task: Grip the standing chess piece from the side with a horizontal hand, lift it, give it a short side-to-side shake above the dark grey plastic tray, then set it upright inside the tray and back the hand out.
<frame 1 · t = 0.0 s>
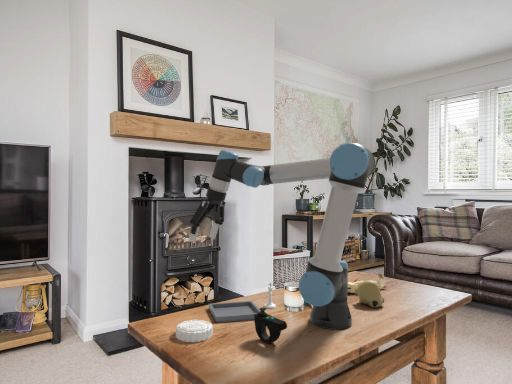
hand: (202, 239, 145), 28 cm above the table, tool tilted 20°, fingers open, 13 cm apart
chess piece: (269, 307, 151), on the table
controller: (269, 343, 115), on the table
tray: (235, 313, 142), on the table
mooncake: (194, 336, 120), on the table
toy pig: (369, 305, 157), on the table
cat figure: (363, 291, 179), on the table
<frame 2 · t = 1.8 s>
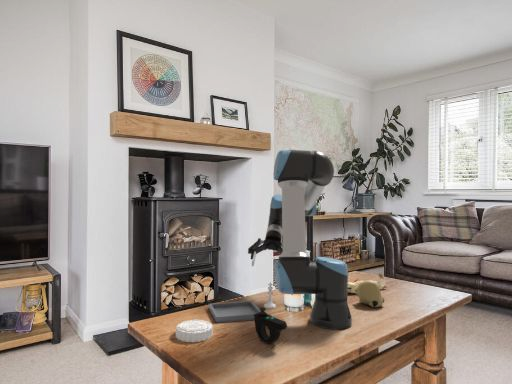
hand: (268, 266, 155), 16 cm above the table, tool tilted 60°, fingers open, 13 cm apart
nothing on the table moved.
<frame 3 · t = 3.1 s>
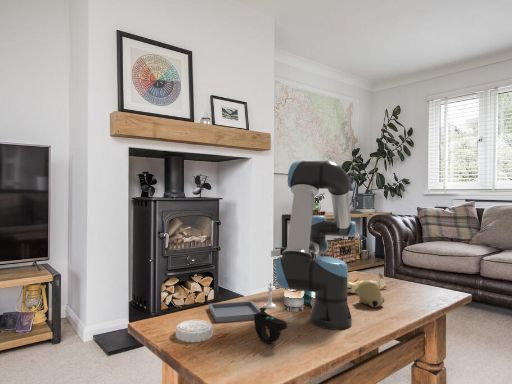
hand: (284, 255, 160), 20 cm above the table, tool horizontal, fingers open, 13 cm apart
nothing on the table moved.
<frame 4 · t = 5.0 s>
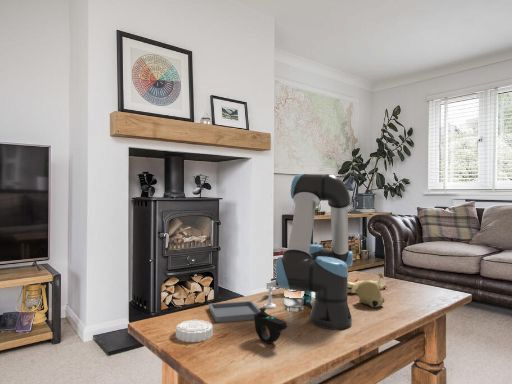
hand: (280, 288, 158), 6 cm above the table, tool horizontal, fingers open, 13 cm apart
nothing on the table moved.
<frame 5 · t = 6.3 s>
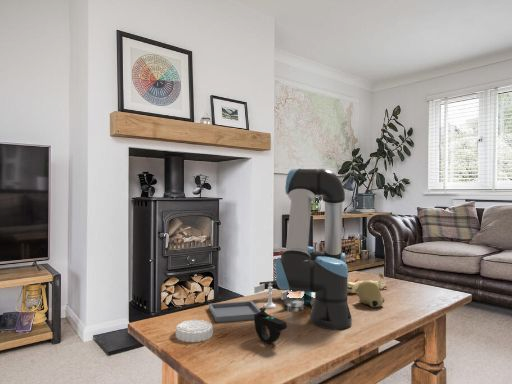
hand: (268, 292, 150), 6 cm above the table, tool horizontal, fingers open, 13 cm apart
nothing on the table moved.
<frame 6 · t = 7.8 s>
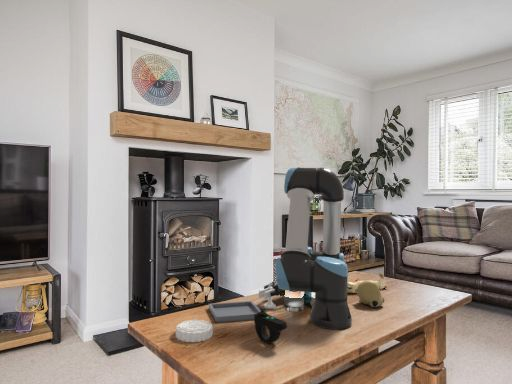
hand: (262, 294, 147), 6 cm above the table, tool horizontal, fingers closed on chess piece, 2 cm apart
chess piece: (269, 307, 151), on the table, touching gripper
everything else where it was.
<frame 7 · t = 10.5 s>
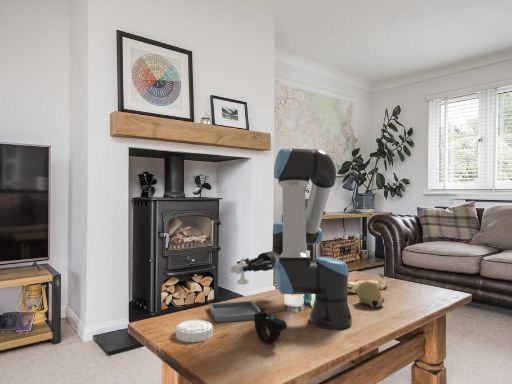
hand: (233, 269, 138), 18 cm above the table, tool horizontal, fingers closed on chess piece, 2 cm apart
chess piece: (242, 283, 142), point 12 cm above the table, touching gripper
everything else where it was.
when the fingers open (8 cm above the table, at t = 13.8 s): chess piece drops 1 cm, resting on tray.
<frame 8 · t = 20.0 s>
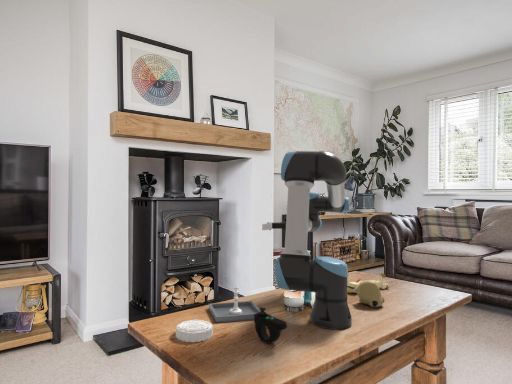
hand: (275, 228, 156), 32 cm above the table, tool horizontal, fingers open, 13 cm apart
chess piece: (235, 312, 142), resting on tray
at the end: chess piece inside the target area on the tray (0.2 cm from its centre), point 0.3 cm above the tray's base; chess piece tilted 0°; the gripper is holding nothing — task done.
